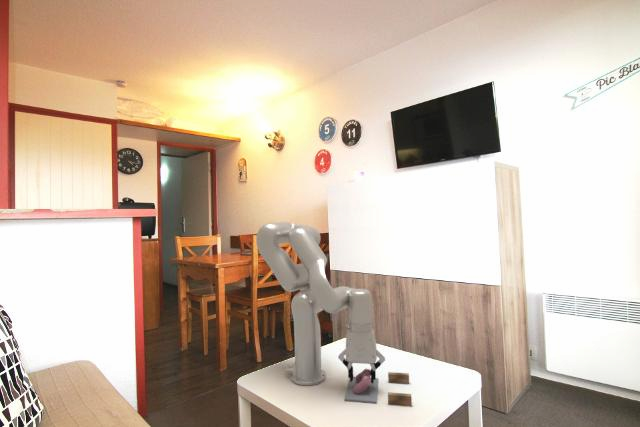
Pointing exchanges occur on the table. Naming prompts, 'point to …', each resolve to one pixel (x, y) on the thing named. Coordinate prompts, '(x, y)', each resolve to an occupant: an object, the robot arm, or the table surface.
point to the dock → (399, 398)
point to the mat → (364, 396)
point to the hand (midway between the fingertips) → (362, 380)
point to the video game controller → (362, 381)
